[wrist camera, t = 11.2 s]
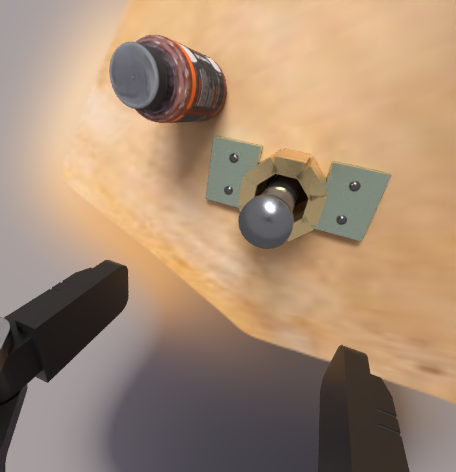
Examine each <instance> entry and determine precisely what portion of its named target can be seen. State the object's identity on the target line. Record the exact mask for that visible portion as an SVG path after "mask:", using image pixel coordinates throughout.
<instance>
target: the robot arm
mask: <svg viewBox="0 0 456 472" xmlns="http://www.w3.org/2000/svg"><path fill="white" fill-rule="evenodd" d="M127 301H128V269H127V267H126V266H124V265H121V264H119V263H115V262H113V261H110V260H105V261H103V262H102V263H100V264H99V265H97V266H96V267H94V268H88V269H85V270H83V271H79V272H76V273H74V274H73V275H71V276H70V277H68V278H67V279H65V280H63V282H62V283H58V284H57V285H55V286H54V287H52V289H51V290H50V289H49V290H47V291H46V292H44V293H43V294H41V295H39V296H38V297H36V298H35V299H33V300H32V301H30V302H29V303H27V304H25V305H24V306H22V307H20V308H19V309H17V310H16V311H14V312H12V313H11V314H9V315H8V316H6V317H4V318H2V317H0V472H5V463H6V456H7V452H8V448H9V446H10V443H11V440H12V436H13V433H14V430H15V427H16V424H17V420H18V417H19V414H20V411H21V408H22V405H23V401H24V398H25V395H26V392H27V388H28V387H27V383H29V382H30V381H31V380H32V379H33V378H34V377H37V378H39V379H41V380H43V381H45V382H49V381H50V380H51V379H52V378H53V377H54V376H55V375H56V374H57V373H58V372H59V371H60V370H61V369H63V368H64V367H65V366H66V365H67V364H68V363H69V362H70V361H71V360H72V359H73V358H74V357H75V356H76V355H77V354H78V353H79V352H80V351H81V350H82V349H83V348H84V347H85V346H87V344H89V343H90V342H91V341H92V340H93V339H94V338H95V337H96V336H97V335H98V334H99V333H100V332H101V331H102V330H103V329H104V328H105V327H106V326H107V325H108V324H109V323H110V322H111V321H112V320H114V319H115V318H116V317H117V316H118V315H119V314H120V313H121V312H122V311H123V309H124V308H125V306H126V304H127ZM318 462H319V463H318V472H409V468H408V464H407V459H406V455H405V450H404V446H403V442H402V438H401V436H400V429H399V425H398V420H397V419H396V412H395V407H394V403H393V399H392V396H391V394H390V392H389V391H388V389H387V387H386V385H385V384H384V382H383V380H382V379H381V378H380V377H377V376H374V375H372V374H370V368H369V362H368V357H367V355H366V354H365V353H362V352H359V351H357V350H354V349H351V348H348V347H346V346H343V345H340V346H339V347H338V349H337V351H336V353H335V355H334V357H333V359H332V361H331V363H330V365H329V367H328V369H327V371H326V373H325V375H324V378H323V381H322V385H321V390H320V418H319V458H318Z"/></svg>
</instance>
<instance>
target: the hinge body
mask: <svg viewBox="0 0 456 472" xmlns="http://www.w3.org/2000/svg"><path fill="white" fill-rule="evenodd" d="M262 148H263V146H261V145H256V144H252V143H247V142H243V141H238V140H233V139H229V138H224V137H219V136H214V137H213V145H212V153H211V160H210V168H209V176H208V184H207V191H206V199H208V200H212V201H215V202H219V203H223V204H226V205H230V206H234V207H237V208H239V211H240V212H241V210H242V208H243V207H244V206H245V205H246V204H247V203H248V202H249V201H250V200H251V199H252V198H254V197H256V196H259V195H261V194H262V193H263V192H264V191H265V189H266V185H267V180H268V178H269V177H271V176H272V175H274V174H279V175H283V176H287V177H291V178H295V179H298V181H299V183H300V184H301V186H302V188H303V189H304V191H305V193H306V194H307V196H308V197H307V200H306V201H304V202H302V203H300V204H298V205H296V206H294V208H293V211H292V213H293V216H294V225H293V229H292V232H291V235H290V236H289V238H288V239H287V241H288V242H289V241H291V240H293V239H295V238H298V237H300V236H302V235H304V234H306V233H308V232H310V231H313V230H314V229H317V230H321V231H325V232H328V233H332V234H336V235H339V236H343V237H347V238H350V239H354V240H358V241H361V242H362V240H363V237H364V235H365V233H366V231H367V228H368V226H369V224H370V222H371V219H372V217H373V215H374V213H375V210H376V208H377V206H378V204H379V201H380V199H381V197H382V195H383V192H384V190H385V188H386V186H387V183H388V181H389V179H390V177H391V175H390V174H389V173H386V172H381V171H376V170H372V169H367V168H363V167H358V166H353V165H349V164H344V163H340V162H335V161H333V162H332V165H331V168H330V171H329V174H328V177H327V180H326V177H325V175H324V174H323V172H322V170H321V168H320V167H319V165H318V163H317V161H316V160H315V158H314V157H312V158H310V159H309V157H310V154H308V153H303V152H299V151H294V150H289V149H284V150H282V151H281V150H279V151H278V152H276V153H275V154H273V155H271V156H270V157H268V158H267V159H265V160H264V161H262V162H261V163H259V162H260V157H261V152H262Z"/></svg>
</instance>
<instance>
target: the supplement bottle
mask: <svg viewBox="0 0 456 472" xmlns="http://www.w3.org/2000/svg"><path fill="white" fill-rule="evenodd" d="M109 72H110V79H111V83H112V87H113V89H114V91H115V93H116V95H117V97H118V98H119V99H120V100H121V101H122V102H123V103H124V104H125V105H127V106H129V107H131V108H134V109H135V110H136V111H137V112H138V113H139V114H140V115H142V116H143V117H145V118H146V119H148V120H151V121H154V122H159V123H176V122H198V121H205V120H208V119H210V118H212V117H214V116H215V115H216V114H217V113H218V112H219V111H220V109H221V108H222V106H223V104H224V101H225V98H226V89H227V88H226V80H225V77H224V74H223V72H222V70H221V68H220V67H219V66H218V64H217V63H215V62H214V61H213V60H212V59H210V58H209V57H207V56H205V55H203V54H201V53H199V52H196V51H194V50H192V49H190V48H188V47H186V46H184V45H182V44H179V43H177V42H176V41H173V40H171V39H169V38H166V37H164V36H160V35H148V36H145V37H143V38H141V39H139V40H138V41H136V42H126V43H124V44H122V45H120V46H119V47H118V48H117V49H116V50H115V52H114V54H113V56H112V59H111V62H110V70H109Z"/></svg>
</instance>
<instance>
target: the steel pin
mask: <svg viewBox="0 0 456 472" xmlns="http://www.w3.org/2000/svg"><path fill="white" fill-rule="evenodd" d="M300 188H301V184H300V183H299V181H298V179H295V178H291V177H287V176H283V175H279V174H278V175H277V176H276V177H275V179H274V180H273V181H272V182H271V183H270V185H269V186H268V187H267V188H266V189H265V191H264V192H263V193H262V194H261V195H259V196H256V197H254V198H252V199H251V200H250V201H249V202H248V203H247V204H246V205H245V206H244V207H243V208H242V210H241V212H240V215H239V227H240V230H241V233H242V235H243V236H244V237H245V239H246V240H247V241H248V242H250V243H251V244H253V245H255V246H257V247H260V248H266V249H269V248H275V247H278V246H280V245H282V244H283V243H284V242H285V241H287V239H288V238H289V236H290V235H291V232H292V229H293V225H294V216H293V213H292V211H293V208H294V206H295V203H296V200H297V197H298V194H299V192H300Z"/></svg>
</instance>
